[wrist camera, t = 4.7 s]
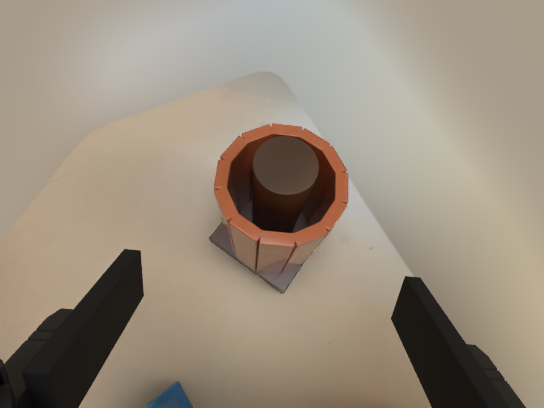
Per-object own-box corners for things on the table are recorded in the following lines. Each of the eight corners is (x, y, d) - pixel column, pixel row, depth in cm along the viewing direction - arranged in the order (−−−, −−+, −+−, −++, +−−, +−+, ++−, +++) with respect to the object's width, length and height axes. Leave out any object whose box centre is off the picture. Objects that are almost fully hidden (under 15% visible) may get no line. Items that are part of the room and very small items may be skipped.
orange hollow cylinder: (332, 219, 29) (371, 168, 19) (283, 292, 26) (302, 274, 17) (262, 172, 30) (266, 103, 21) (208, 238, 27) (186, 192, 18)
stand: (329, 222, 29) (384, 151, 17) (282, 293, 27) (308, 268, 15) (261, 177, 31) (268, 81, 19) (210, 241, 28) (179, 177, 16)
